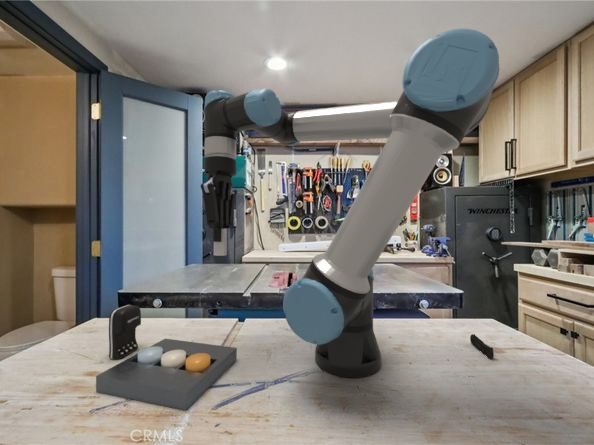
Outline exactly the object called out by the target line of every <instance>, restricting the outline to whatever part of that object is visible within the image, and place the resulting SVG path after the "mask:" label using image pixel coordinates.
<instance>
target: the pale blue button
mask: <svg viewBox="0 0 594 445" xmlns="http://www.w3.org/2000/svg"><path fill="white" fill-rule="evenodd" d="M137 354H138V363H143V364H149V365H152V364H153V363H155V362H156V361H158V360H160V359H161V356H162V355H163V348H162V347H157V346H155V347H150V346H149V347H146V348H142V349H141V350H139V351H138V352H137Z"/></svg>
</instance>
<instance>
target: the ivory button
mask: <svg viewBox="0 0 594 445" xmlns="http://www.w3.org/2000/svg"><path fill="white" fill-rule="evenodd" d="M185 362H186V352H185V351H184V350H172V351H168V352H166V353H164V354H163V355H162V356H161V367H167V368H173V369H176V368H178V367H179V366H180V365H182V364H183V363H185Z"/></svg>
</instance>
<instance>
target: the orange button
mask: <svg viewBox="0 0 594 445" xmlns="http://www.w3.org/2000/svg"><path fill="white" fill-rule="evenodd" d="M209 367H210V355H209V354H207V353H197V354H193V355H191V356H189V357H188V358H187V359H186V371H191V372H197V373H203V372H204V371H205V370H206V369H207V368H209Z"/></svg>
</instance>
